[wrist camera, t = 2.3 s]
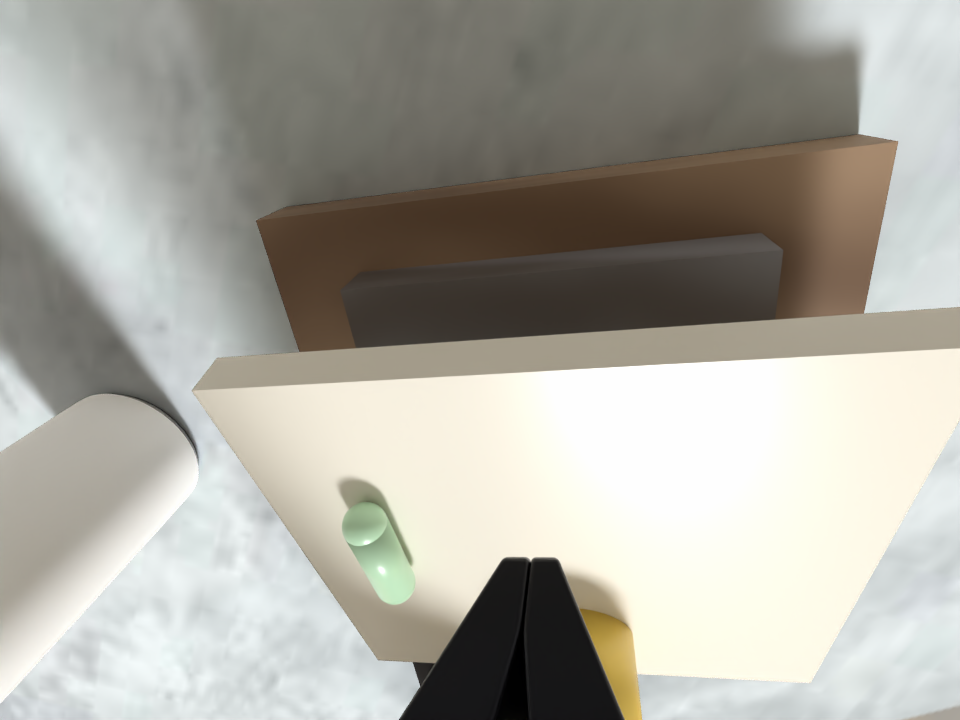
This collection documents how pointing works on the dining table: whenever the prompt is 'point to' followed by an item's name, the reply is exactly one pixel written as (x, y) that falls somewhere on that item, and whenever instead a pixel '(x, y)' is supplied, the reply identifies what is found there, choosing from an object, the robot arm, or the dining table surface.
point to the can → (80, 515)
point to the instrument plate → (607, 478)
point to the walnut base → (589, 248)
